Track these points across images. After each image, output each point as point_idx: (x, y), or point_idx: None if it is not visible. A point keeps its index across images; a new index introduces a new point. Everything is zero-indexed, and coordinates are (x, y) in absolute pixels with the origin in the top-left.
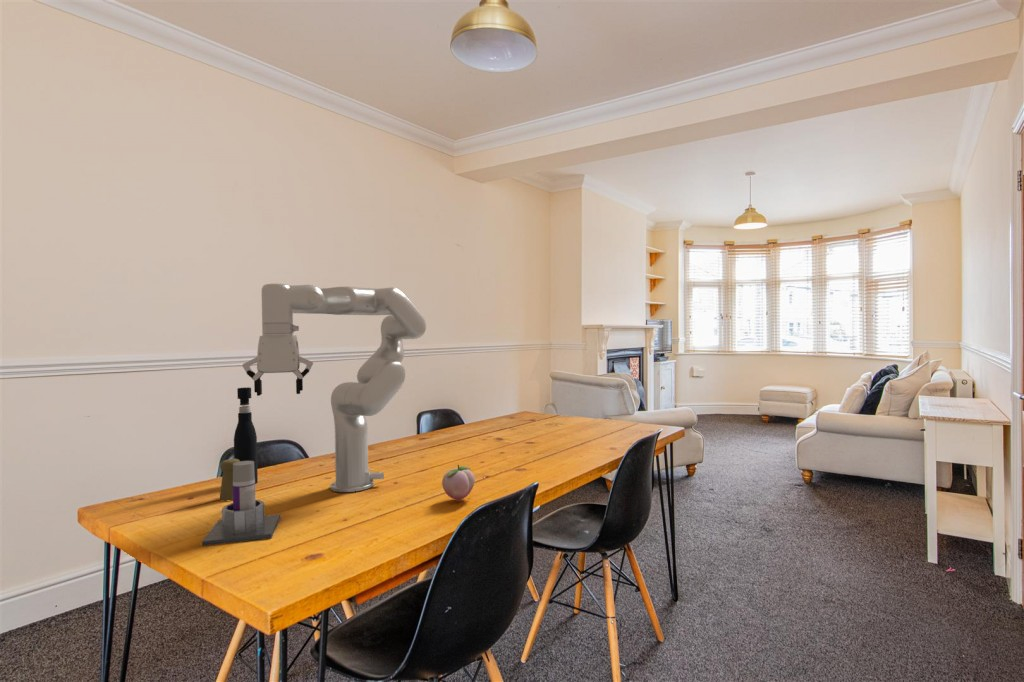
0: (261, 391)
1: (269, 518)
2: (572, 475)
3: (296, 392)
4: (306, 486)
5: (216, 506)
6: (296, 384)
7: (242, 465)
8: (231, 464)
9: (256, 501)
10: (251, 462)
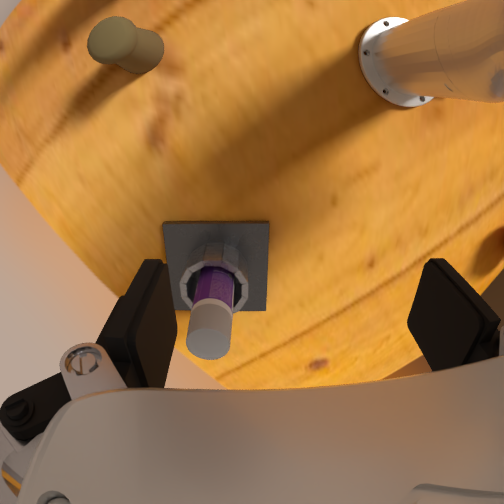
0: (164, 288)
1: (252, 243)
2: None
3: (409, 329)
4: (301, 8)
5: (125, 107)
6: (432, 366)
7: (211, 359)
8: (114, 59)
9: (231, 271)
10: (225, 346)
